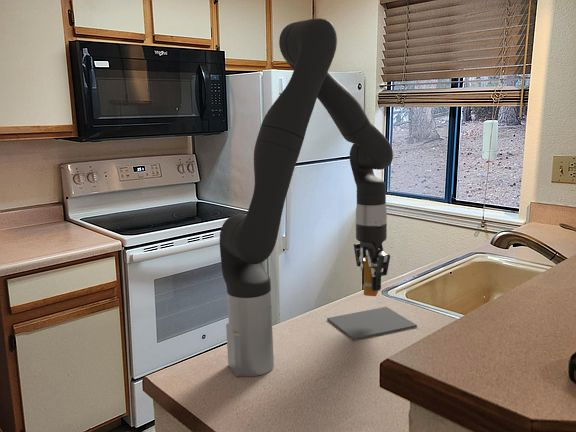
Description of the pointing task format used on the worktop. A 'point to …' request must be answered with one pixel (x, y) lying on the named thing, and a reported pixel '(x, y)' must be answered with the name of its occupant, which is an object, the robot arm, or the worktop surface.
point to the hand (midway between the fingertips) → (371, 287)
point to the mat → (371, 323)
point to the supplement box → (368, 279)
